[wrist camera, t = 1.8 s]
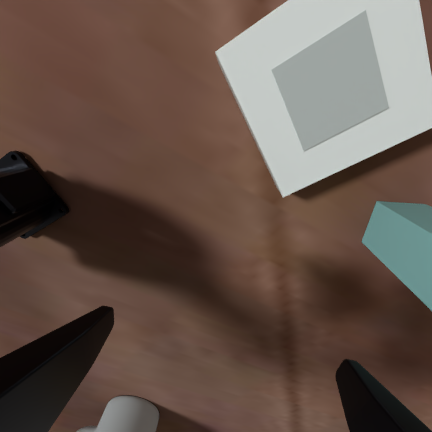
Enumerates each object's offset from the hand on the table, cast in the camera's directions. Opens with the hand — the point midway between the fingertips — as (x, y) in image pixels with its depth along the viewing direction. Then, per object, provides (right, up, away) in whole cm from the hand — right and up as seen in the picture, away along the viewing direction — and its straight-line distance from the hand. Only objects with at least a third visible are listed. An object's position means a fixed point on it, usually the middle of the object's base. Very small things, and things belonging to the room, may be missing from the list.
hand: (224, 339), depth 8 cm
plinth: (+7, +13, +7) cm, 17 cm away
